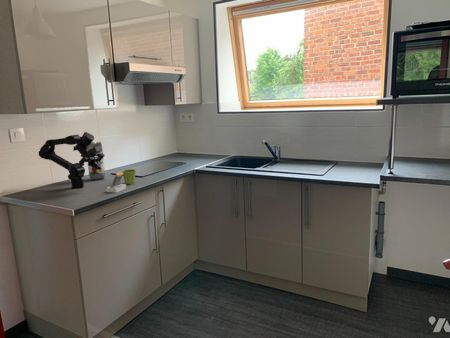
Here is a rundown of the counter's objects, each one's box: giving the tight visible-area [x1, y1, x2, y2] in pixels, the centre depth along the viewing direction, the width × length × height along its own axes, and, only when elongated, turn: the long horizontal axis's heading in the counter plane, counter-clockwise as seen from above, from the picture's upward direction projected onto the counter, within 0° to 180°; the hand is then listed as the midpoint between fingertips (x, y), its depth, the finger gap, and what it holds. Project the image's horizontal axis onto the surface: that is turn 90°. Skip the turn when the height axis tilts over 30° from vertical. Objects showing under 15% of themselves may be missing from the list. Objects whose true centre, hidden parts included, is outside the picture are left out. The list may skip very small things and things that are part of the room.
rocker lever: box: [112, 172, 123, 186], centre depth 210 cm, size 2×5×8 cm, turn 162°
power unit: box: [106, 182, 127, 193], centre depth 212 cm, size 7×10×4 cm
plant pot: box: [121, 169, 137, 185], centre depth 227 cm, size 9×9×9 cm
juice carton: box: [87, 140, 106, 181], centre depth 241 cm, size 9×10×27 cm
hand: (100, 169), depth 213 cm, fingers closed
